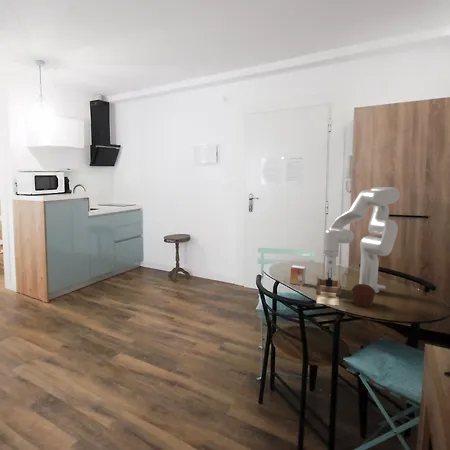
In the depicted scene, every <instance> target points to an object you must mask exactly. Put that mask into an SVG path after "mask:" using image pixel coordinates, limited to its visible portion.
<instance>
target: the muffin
mask: <svg viewBox="0 0 450 450" xmlns="http://www.w3.org/2000/svg"><path fill="white" fill-rule="evenodd" d="M351 293H352V300H353V302H352V303H354V305H356V306H358V307H364V308H365V307H372V305H373V303H374V297H375V296H376V294H377V293H376V292H375V290H374V289H373V288H372V287H371V286H369V285H366V284H359V283H358V284H355V285H354V286H353V287H352V289H351Z"/></svg>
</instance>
